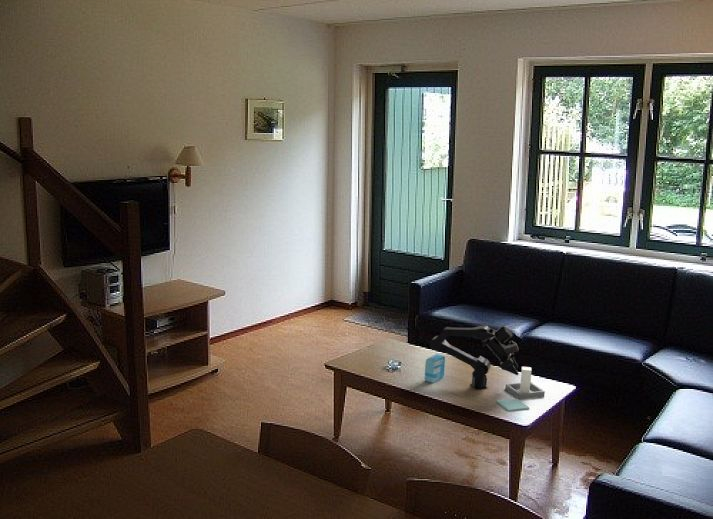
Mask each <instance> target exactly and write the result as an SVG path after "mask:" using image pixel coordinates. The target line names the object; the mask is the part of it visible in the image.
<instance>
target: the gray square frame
mask: <svg viewBox="0 0 713 519" xmlns="http://www.w3.org/2000/svg"><path fill="white" fill-rule="evenodd" d="M520 383H521V382H513V383H505V390H506V391H507V392H509V393H510V394H512V395H513V396H514V397H516V399H519V400H523V399H531V398H533V399H534V398H541V397H542V398H544V397H545V393H546V392H545V390H543V389H542V388H540V387H539V386H537V385H536V384H534V383H533V382H532V381H531V382H530V390H532V391H530V392H526V393H520V391H518V390H517V389H516V388H518V389H520Z"/></svg>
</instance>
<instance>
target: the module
mask: <svg viewBox="0 0 713 519" xmlns="http://www.w3.org/2000/svg"><path fill="white" fill-rule="evenodd" d="M531 380H532V367H530V366H521V374H520V382H519V383H520V388H519V393H526V392H531V388H530V382H531V383H532V381H531Z"/></svg>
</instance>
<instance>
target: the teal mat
mask: <svg viewBox="0 0 713 519" xmlns="http://www.w3.org/2000/svg"><path fill="white" fill-rule="evenodd" d="M496 403H497V404H499V406H501V407H502V408H503V409H504V410H506V411H507V412H515V411H525V410H530V406H528V405H527V404H526V403H525V402H523V401H521V399H518V398H508V399H497V400H496Z"/></svg>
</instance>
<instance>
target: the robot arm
mask: <svg viewBox="0 0 713 519" xmlns="http://www.w3.org/2000/svg"><path fill="white" fill-rule="evenodd" d="M448 337H468V338H469V337H471V338H474V339H478V340H482V341H481V342H482V346H481V347H482V348H484V347H485V346H487V347H488V349H489V350H490V351H492V353H493V355H494V356H496V357H497V358H498V362H500V363H499V364H500V366H499V367H500V369H501V370H502V371H506V372H509V373H511V374H513V375H515V376H518V375H519V374H520V373H519V371H518V369H519V365H518V363H517V362H516V359H515V357H514V356H515V353H517V352H519V345H518V343H516V342H514V341H513V340H510V338H512V337H513V333H512V330H510V328H508V327H506V326H505V325H502V326H500V328H498V329H493V328H491V327H489V326H488V325H478V326H475V327H452V326H451V327H450V326H446V327H445V328H444V329H443V330H442V331H441V333H440V334H439V335H436V336H434V337H433V338H432V339H431V340H430V342H429V347H430V349H431V350H432V351H435V352H440V353H444V354H445V353H446V354H448V355H450V356H451V357H454V358H455V359H457V360H459V361H461V362H463V363H464V364H467V365H469V366H470V367H471V368H472V369H473V371H472V373H471V375H472V376H471V383H470V384H469V385H470V386H471V387H473V388H474V389H475V390H482V389H483V390H484V389H488V387H487V385H488V384H487V382H488V378H487V374H488V373H489V371H490V370H491V368H492V365H491V364H492V363H491V362H490V361H489V360H488V358H485V357H484V356H482V355H479V357H475V356H472V355H471V354H470V353H467V352H465V351H462V350H461V349H459V348H457V347H456V346H453V345H452V344H450V343H449V342H448V341H447V340H446V339H447V338H448ZM508 340H510V341H509V344H507V345H505V344H504V343H506V341H508ZM502 343H503V344H502Z"/></svg>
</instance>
